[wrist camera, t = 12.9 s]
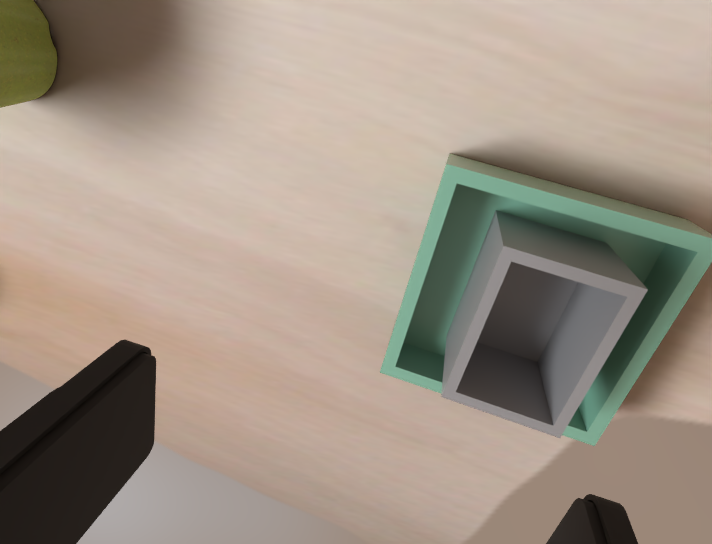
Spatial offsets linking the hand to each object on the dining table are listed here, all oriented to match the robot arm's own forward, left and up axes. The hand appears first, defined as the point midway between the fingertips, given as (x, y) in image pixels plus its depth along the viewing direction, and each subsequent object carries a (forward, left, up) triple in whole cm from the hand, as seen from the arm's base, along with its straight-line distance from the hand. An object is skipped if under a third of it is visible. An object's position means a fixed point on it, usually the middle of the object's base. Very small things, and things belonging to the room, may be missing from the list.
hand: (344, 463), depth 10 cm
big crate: (+3, +7, -20) cm, 22 cm away
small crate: (+3, +7, -19) cm, 21 cm away
